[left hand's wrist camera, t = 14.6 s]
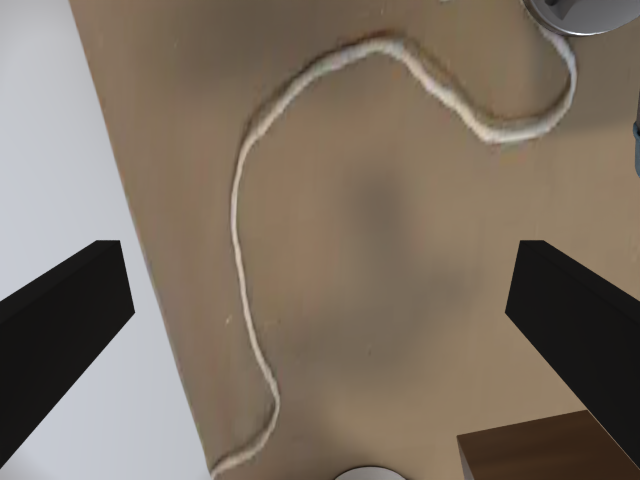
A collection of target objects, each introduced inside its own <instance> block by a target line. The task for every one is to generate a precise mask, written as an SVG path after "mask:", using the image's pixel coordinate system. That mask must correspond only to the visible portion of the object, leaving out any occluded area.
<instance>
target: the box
mask: <svg viewBox="0 0 640 480" xmlns="http://www.w3.org/2000/svg"><path fill="white" fill-rule="evenodd" d="M457 442H458V447H459V452H460V457H461V463H462V468H463V473H464V478H465V480H640V470H639V469H638V467H637V466H636V465H635V464H634V463H633V462H632V461H631V459H630V458H629V457H628V456H627V455H626V454H625V453H624V451H623V450H622V449H621V448H620V447H619V446H618V445H617V443H616V442H615V441H614V440H613V439H612V438H611V437H610V435H609V434H608V433H607V432H606V431H605V430H604V429H603V427H602V426H601V425H600V424H599V423H598V422H597V421H596V419H595V418H594V417H593V416H592V415H591V414H590V413H589V411H588V410H582V411H577V412H572V413H567V414H562V415H557V416H552V417H547V418H542V419H537V420H532V421H527V422H522V423H517V424H512V425H507V426H502V427H497V428H492V429H487V430H482V431H477V432H472V433H467V434H462V435H457Z"/></svg>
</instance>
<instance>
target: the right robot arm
mask: <svg viewBox="0 0 640 480" xmlns="http://www.w3.org/2000/svg"><path fill="white" fill-rule="evenodd" d="M335 480H406V479H404V478H403V477H402V476H400V475H399V474H397V473H395V472H393V471H391V470H388V469H384V468H379V467H363V468H357V469H353V470H350V471H348V472H345V473H343V474H342V475H340V476H339V477H337V478H336V479H335Z"/></svg>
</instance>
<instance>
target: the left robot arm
mask: <svg viewBox="0 0 640 480" xmlns="http://www.w3.org/2000/svg"><path fill="white" fill-rule="evenodd" d="M523 1H524V3H525V5H526V7H527V9H528V10H529V12H530V13H531V15H532V16H533V17H534V18H535V19H536V20H537V21H538V22H539V23H540V24H541V25H542V26H544V27H545V28H547V29H548V30H550V31H552V32H554V33H557V34H560V35H564V36H569V37H585V36H591V35H595V34H600V33H604V32H607V31H610V30H613V29H616V28H618V27H620V26H622V25H624V24H626V23H628V22H630V21H632V20H634V19H636V18H637V17H639V16H640V0H523ZM633 134H634V137H635V139H636V147H635V169H636V172H637V174H638V176H639V177H640V92H639V101H638V110H637V119H636V122H635V123H634V125H633ZM134 313H135V310H134V305H133V301H132V296H131V291H130V286H129V281H128V277H127V272H126V267H125V262H124V258H123V253H122V248H121V243H120V240H96V241H95V242H93V243H92V244H90V245H88V246H87V247H85V248H84V249H82V250H81V251H79V252H77V253H76V254H74V255H73V256H71V257H70V258H68V259H66V260H65V261H63V262H62V263H60V264H58V265H57V266H55V267H54V268H52V269H51V270H49V271H47V272H46V273H44V274H43V275H41V276H40V277H38V278H36V279H35V280H33V281H32V282H30V283H29V284H27V285H25V286H24V287H22V288H21V289H19V290H18V291H16V292H14V293H13V294H11V295H10V296H8V297H7V298H5V299H3V300H2V301H0V469H1V468H2V467H3V465H4V464H5V463H6V462H7V461H8V460H9V458H10V457H11V456H12V455H13V454H14V453H15V451H16V450H17V449H18V448H19V447H20V446H21V445H22V443H23V442H24V441H25V440H26V439H27V437H28V436H29V435H30V434H31V433H32V432H33V431H34V429H35V428H36V427H37V426H38V425H39V424H40V422H41V421H42V420H43V419H44V418H45V417H46V416H47V414H48V413H49V412H50V411H51V410H52V409H53V407H54V406H55V405H56V404H57V403H58V402H59V400H60V399H61V398H62V397H63V396H64V395H65V393H66V392H67V391H68V390H69V389H70V388H71V387H72V385H73V384H74V383H75V382H76V381H77V380H78V378H79V377H80V376H81V375H82V374H83V373H84V371H85V370H86V369H87V368H88V367H89V366H90V365H91V363H92V362H93V361H94V360H95V359H96V358H97V356H98V355H99V354H100V353H101V352H102V351H103V349H104V348H105V347H106V346H107V345H108V344H109V342H110V341H111V340H112V339H113V338H114V337H115V335H116V334H117V333H118V332H119V331H120V330H121V329H122V327H123V326H124V325H125V324H126V323H127V322H128V320H129V319H130V318H131V317H132V316H133V315H134ZM505 313H506V315H507V316H508V317H509V318H510V319H511V320H512V322H513V323H514V324H515V325H516V326H517V327H518V329H519V330H520V331H521V332H522V333H523V334H524V336H525V337H526V338H527V339H528V340H529V341H530V342H531V344H532V345H533V346H534V347H535V348H536V349H537V351H538V352H539V353H540V354H541V355H542V356H543V358H544V359H545V360H546V361H547V362H548V363H549V365H550V366H551V367H552V368H553V369H554V370H555V371H556V373H557V374H558V375H559V376H560V377H561V378H562V380H563V381H564V382H565V383H566V384H567V385H568V387H569V388H570V389H571V390H572V391H573V392H574V393H575V395H576V396H577V397H578V398H579V399H580V400H581V402H582V403H583V404H584V405H585V406H586V407H587V409H588V410H589V411H590V412H591V413H592V414H593V416H594V417H595V418H596V419H597V420H598V421H599V422H600V424H601V425H602V426H603V427H604V428H605V429H606V431H607V432H608V433H609V434H610V435H611V436H612V438H613V439H614V440H615V441H616V442H617V443H618V445H619V446H620V447H621V448H622V449H623V450H624V451H625V453H626V454H627V455H628V456H629V457H630V458H631V460H632V461H633V462H634V463H635V464H636V465H637V467H638V468H639V469H640V301H638V300H637V299H635V298H634V297H632V296H630V295H629V294H627V293H626V292H624V291H623V290H621V289H619V288H618V287H616V286H615V285H613V284H611V283H610V282H608V281H607V280H605V279H604V278H602V277H600V276H599V275H597V274H596V273H594V272H593V271H591V270H589V269H588V268H586V267H585V266H583V265H582V264H580V263H578V262H577V261H575V260H574V259H572V258H571V257H569V256H567V255H566V254H564V253H563V252H561V251H560V250H558V249H556V248H555V247H553V246H552V245H550V244H548V243H547V242H545V241H544V240H520V243H519V248H518V253H517V258H516V262H515V267H514V272H513V277H512V281H511V286H510V291H509V296H508V300H507V305H506V310H505Z"/></svg>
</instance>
